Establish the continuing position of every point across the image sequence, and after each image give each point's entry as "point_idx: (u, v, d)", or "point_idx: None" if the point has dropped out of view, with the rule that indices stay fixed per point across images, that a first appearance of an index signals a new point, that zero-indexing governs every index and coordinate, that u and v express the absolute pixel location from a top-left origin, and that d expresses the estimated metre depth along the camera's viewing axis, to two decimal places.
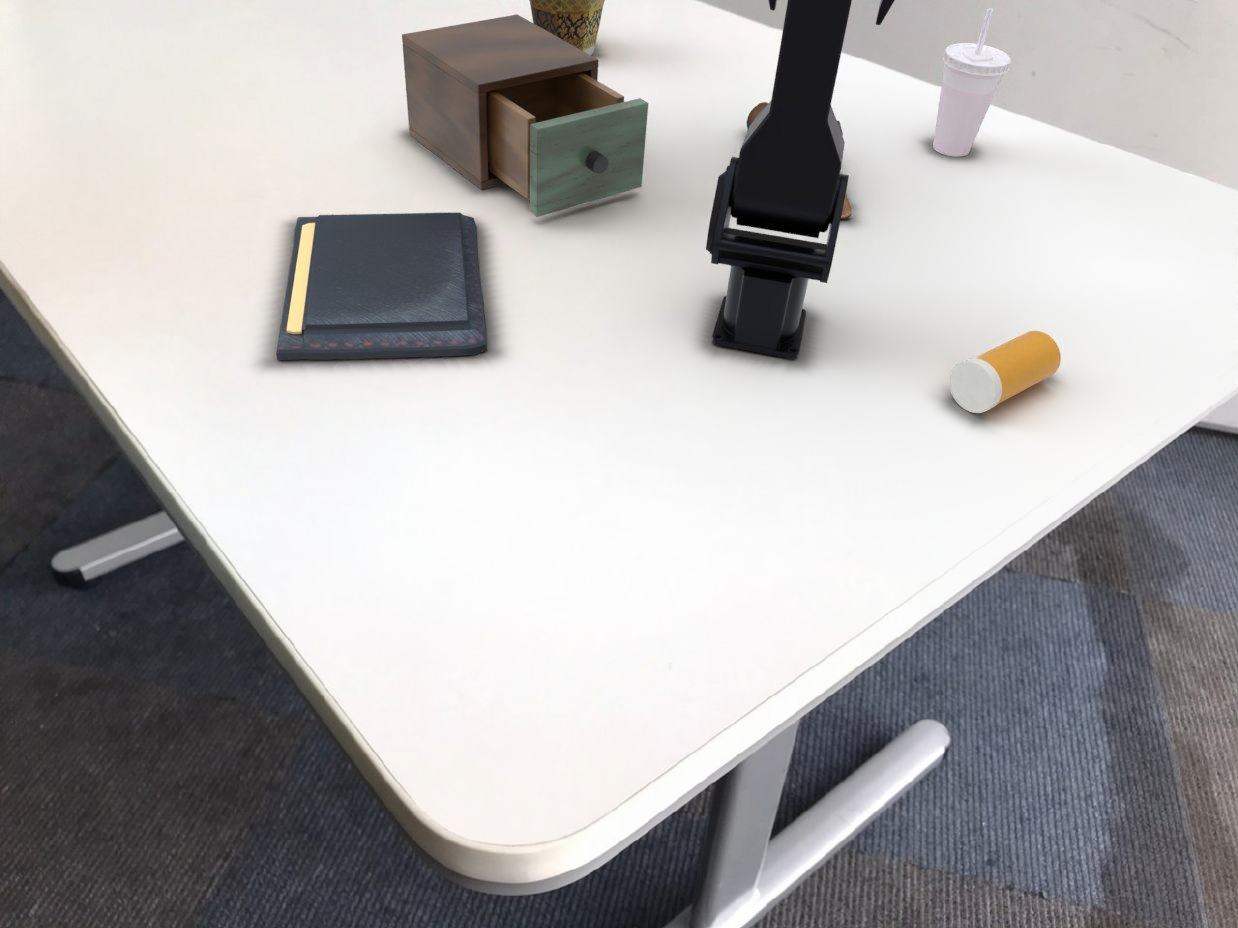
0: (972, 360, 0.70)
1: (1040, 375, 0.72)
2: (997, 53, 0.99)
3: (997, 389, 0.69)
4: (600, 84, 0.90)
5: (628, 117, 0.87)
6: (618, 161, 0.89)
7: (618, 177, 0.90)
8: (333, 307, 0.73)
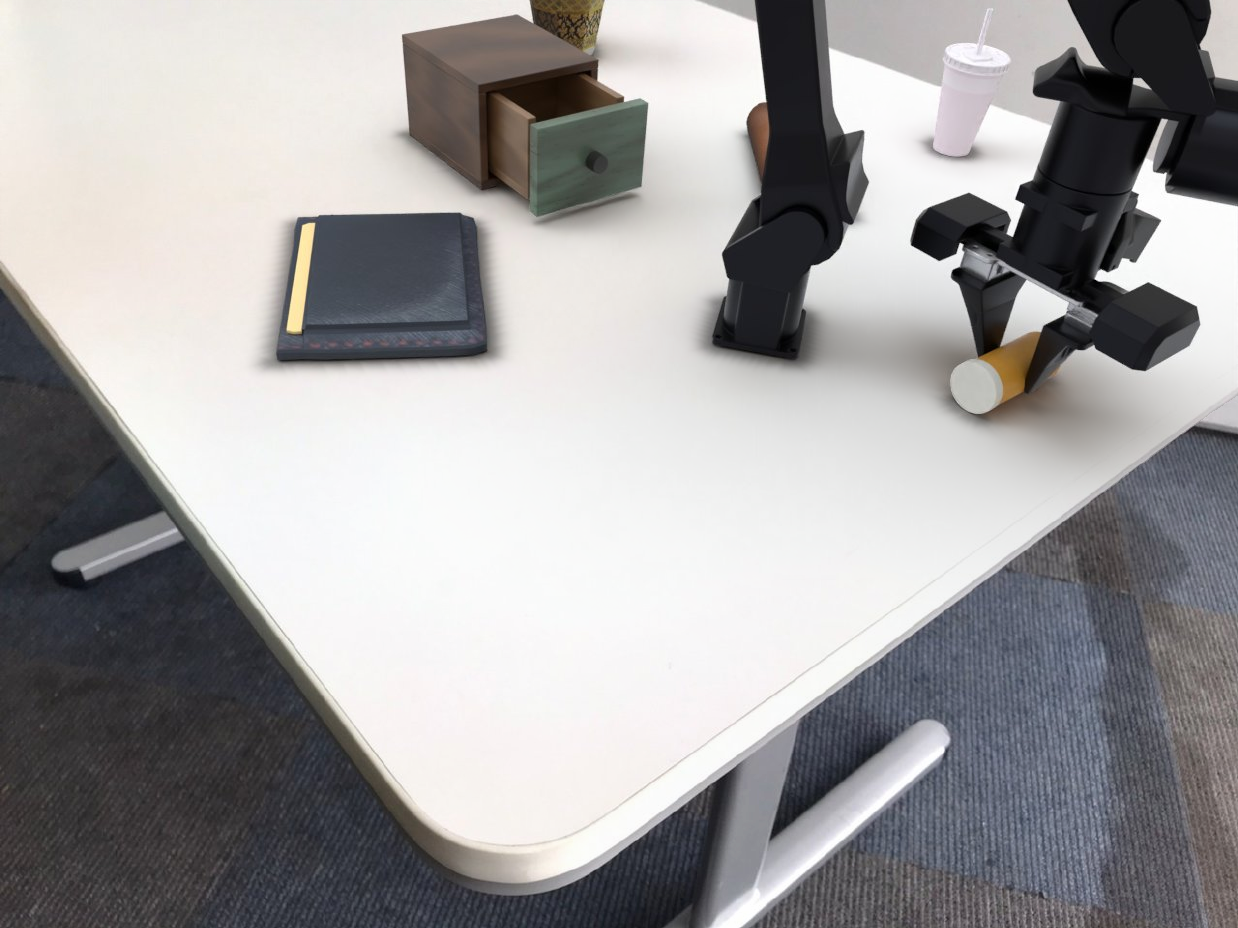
0: (974, 361, 0.70)
1: None
2: (997, 53, 0.99)
3: (998, 391, 0.69)
4: (600, 84, 0.90)
5: (628, 117, 0.87)
6: (618, 161, 0.89)
7: (618, 177, 0.90)
8: (333, 307, 0.73)
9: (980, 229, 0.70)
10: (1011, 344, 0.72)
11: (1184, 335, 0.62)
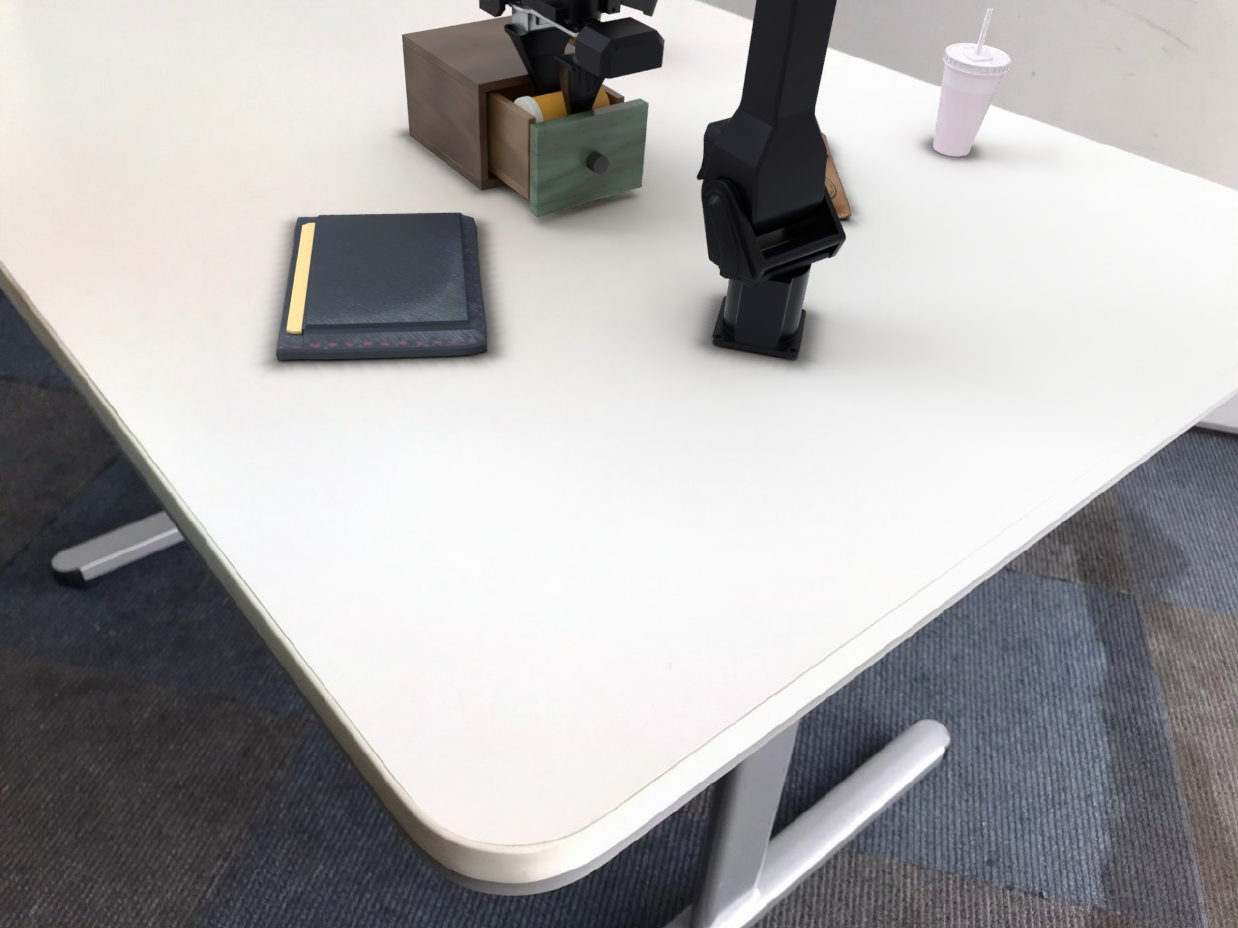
0: (522, 97, 0.85)
1: None
2: (997, 53, 0.99)
3: (538, 120, 0.85)
4: None
5: (628, 117, 0.87)
6: (618, 161, 0.89)
7: (618, 177, 0.90)
8: (333, 307, 0.73)
9: None
10: None
11: (646, 53, 0.78)
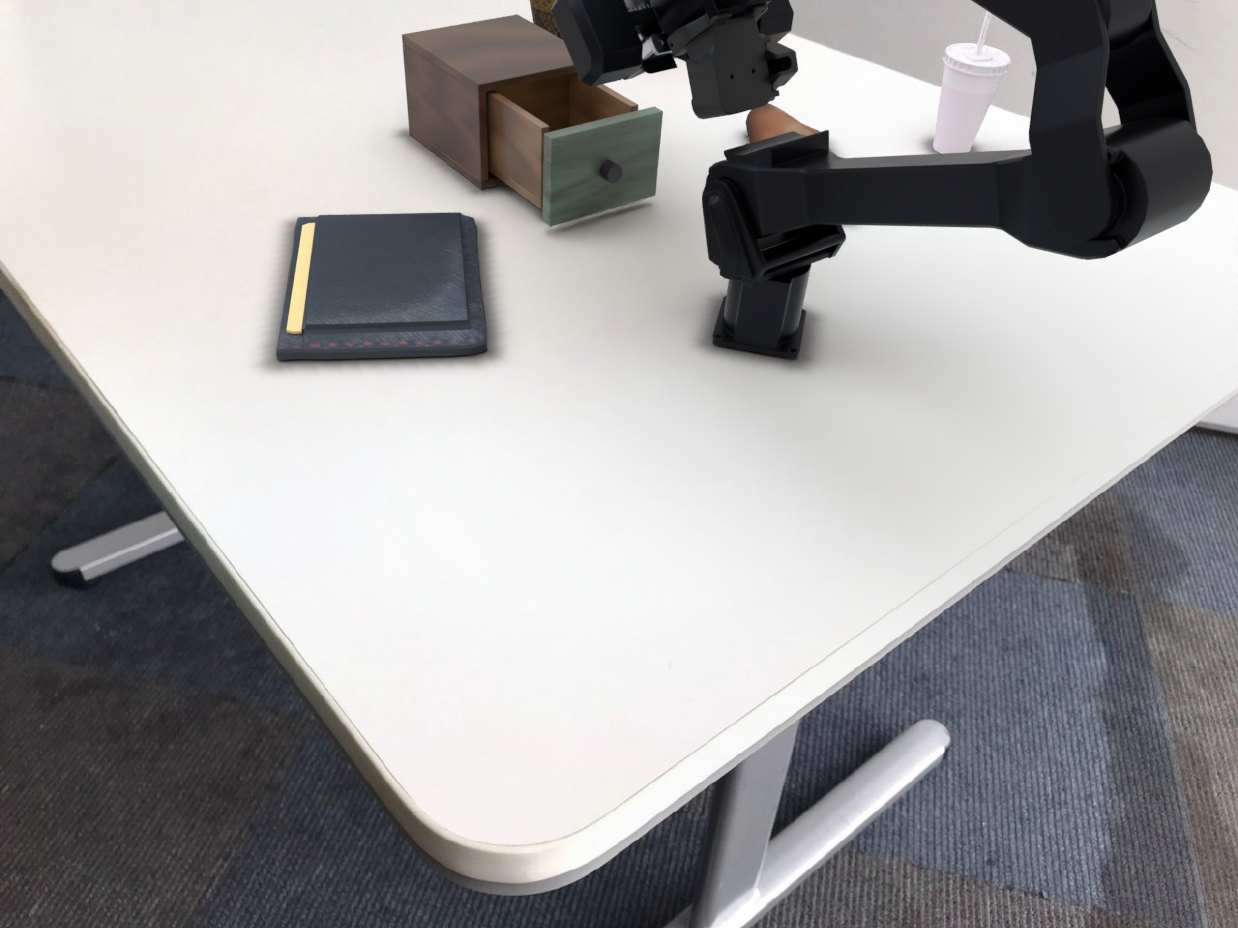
0: None
1: None
2: (997, 53, 0.99)
3: None
4: (614, 92, 0.89)
5: (642, 126, 0.86)
6: (632, 170, 0.88)
7: (632, 186, 0.89)
8: (333, 307, 0.73)
9: None
10: None
11: (579, 47, 0.67)
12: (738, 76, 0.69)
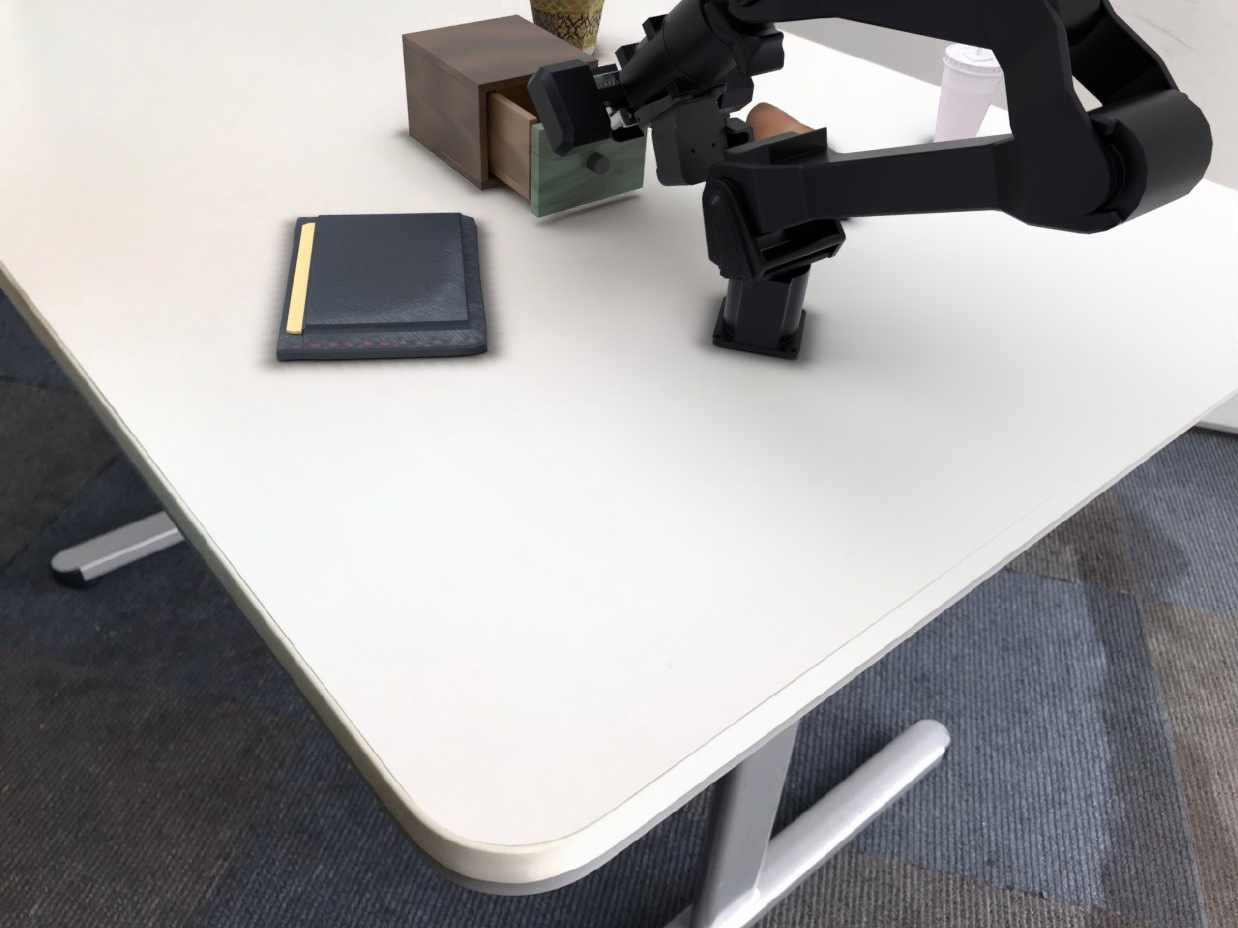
0: None
1: None
2: None
3: None
4: None
5: None
6: (619, 162, 0.89)
7: (620, 178, 0.90)
8: (333, 307, 0.73)
9: None
10: None
11: (552, 122, 0.73)
12: (699, 150, 0.75)
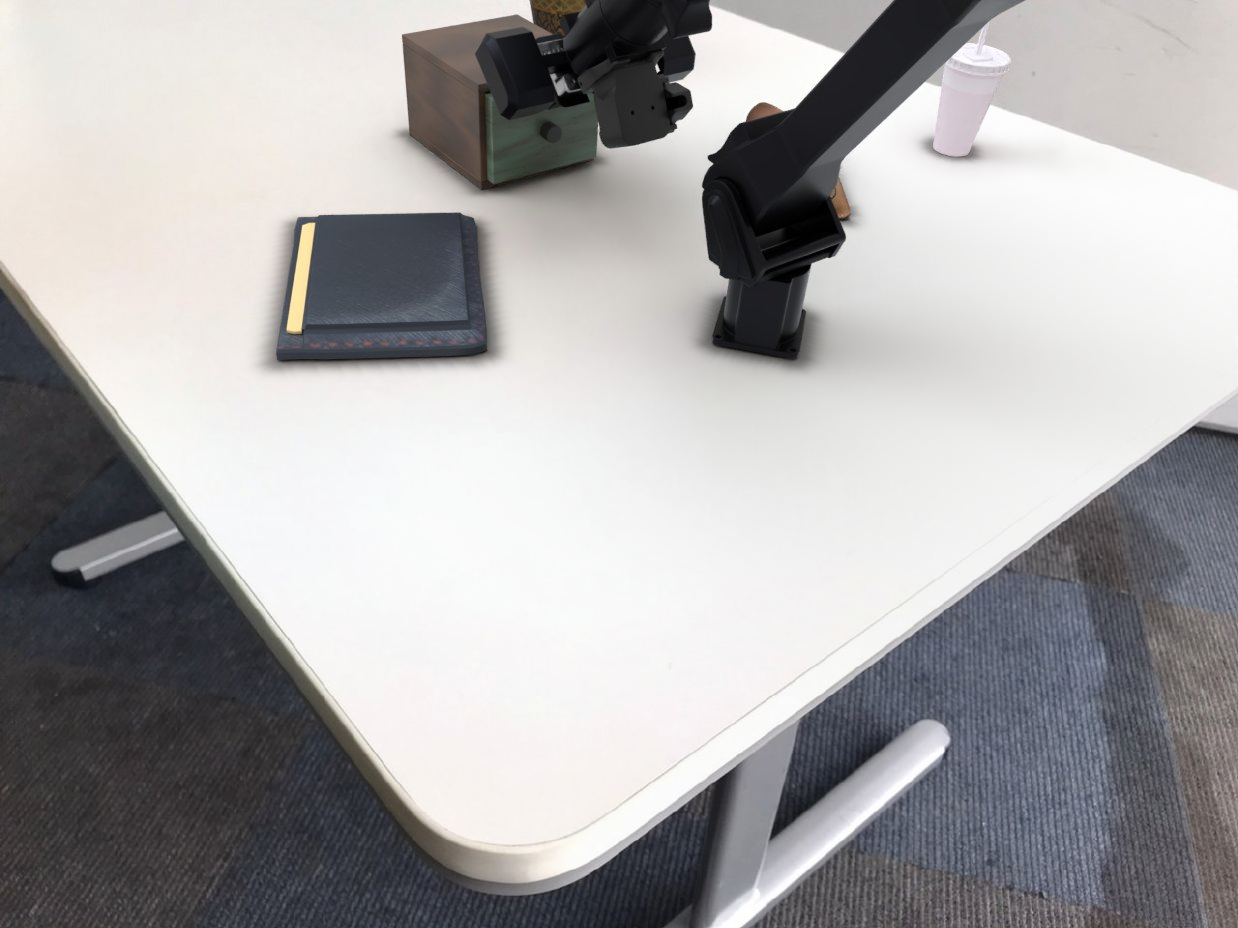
0: None
1: None
2: (997, 53, 0.99)
3: None
4: None
5: None
6: (572, 132, 0.93)
7: (573, 147, 0.94)
8: (333, 307, 0.73)
9: None
10: None
11: (498, 86, 0.77)
12: (638, 112, 0.79)
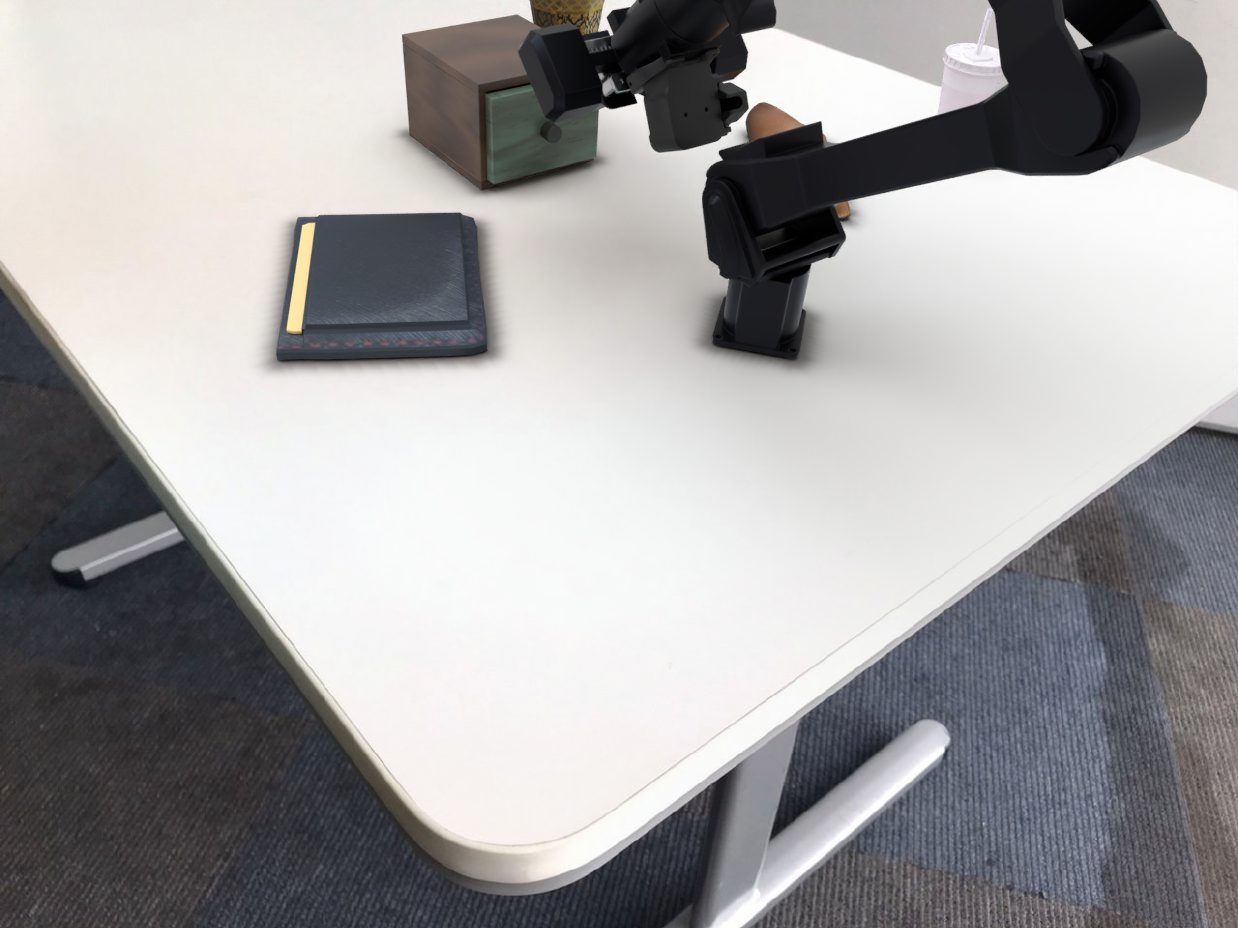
0: None
1: None
2: (997, 53, 0.99)
3: None
4: None
5: None
6: (572, 132, 0.93)
7: (573, 147, 0.94)
8: (333, 307, 0.73)
9: None
10: None
11: (543, 86, 0.73)
12: (691, 114, 0.74)
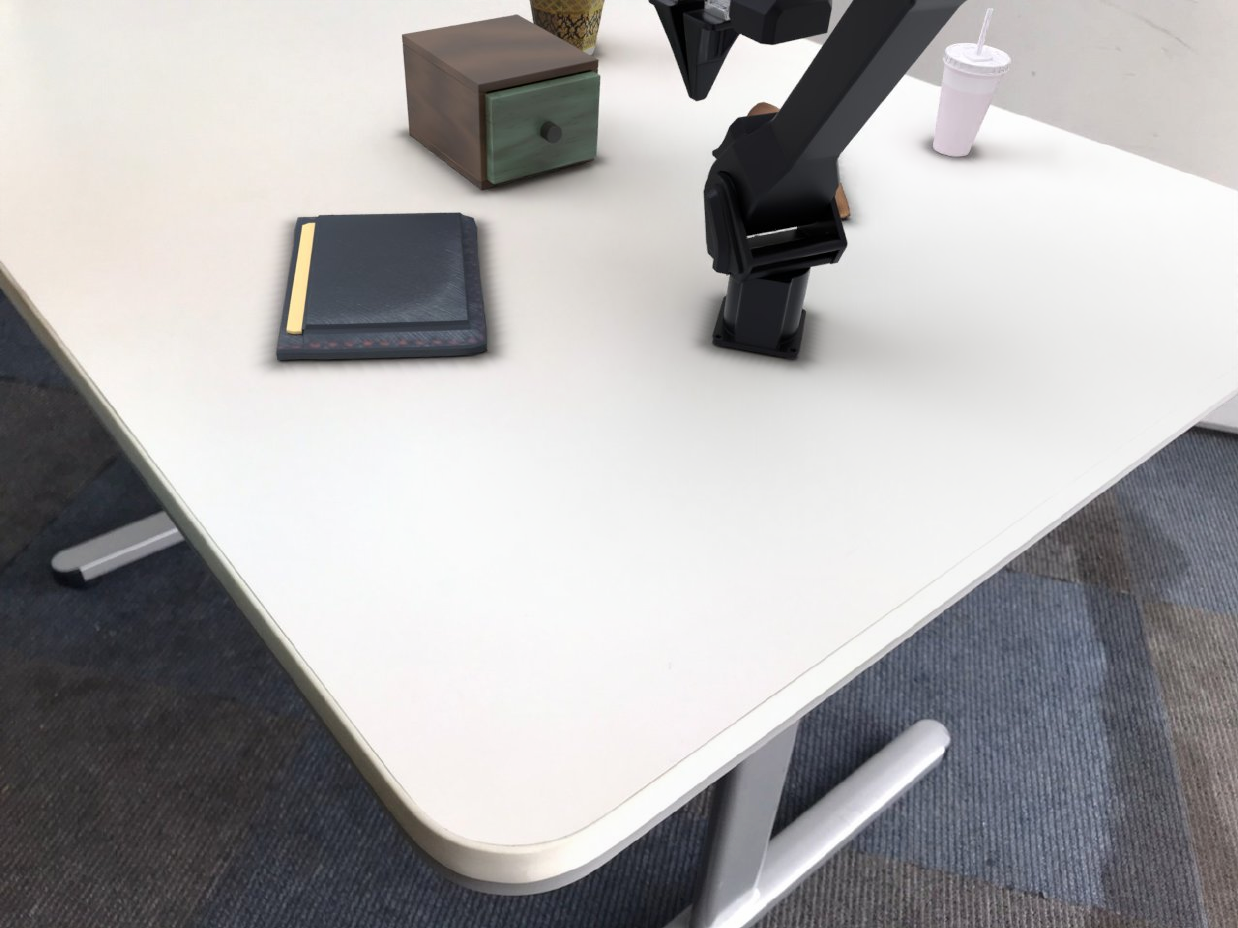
0: None
1: None
2: (997, 53, 0.99)
3: None
4: None
5: (581, 89, 0.91)
6: (572, 132, 0.93)
7: (573, 147, 0.94)
8: (333, 307, 0.73)
9: None
10: None
11: (813, 15, 0.67)
12: None
